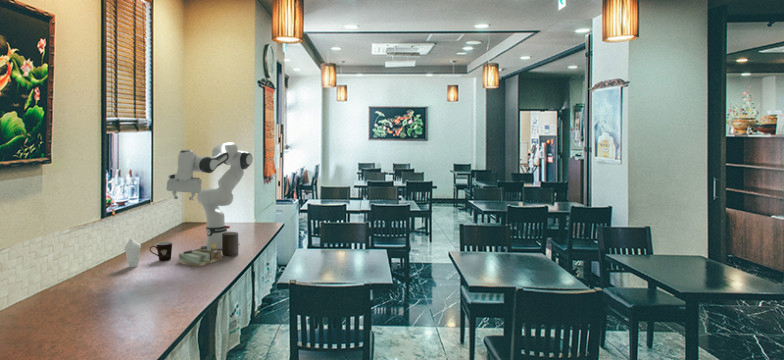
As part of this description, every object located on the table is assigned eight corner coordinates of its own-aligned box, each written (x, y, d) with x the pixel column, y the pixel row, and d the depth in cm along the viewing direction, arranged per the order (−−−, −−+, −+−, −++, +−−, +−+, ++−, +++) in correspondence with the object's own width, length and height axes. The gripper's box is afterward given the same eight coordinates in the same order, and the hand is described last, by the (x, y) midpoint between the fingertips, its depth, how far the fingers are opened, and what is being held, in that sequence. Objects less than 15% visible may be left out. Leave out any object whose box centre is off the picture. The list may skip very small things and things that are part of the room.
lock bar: (199, 250, 277) (199, 241, 277) (204, 248, 281) (204, 240, 280) (212, 252, 271) (212, 244, 271) (218, 251, 274) (217, 243, 274)
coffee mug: (175, 258, 281) (175, 241, 280) (167, 261, 272) (167, 245, 271) (157, 257, 282) (157, 241, 281) (149, 261, 274) (148, 244, 273)
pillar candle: (223, 257, 284) (223, 233, 282) (221, 253, 292) (220, 230, 291) (239, 255, 288) (239, 232, 287) (237, 252, 297) (237, 229, 295)
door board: (204, 256, 286) (204, 245, 285) (221, 260, 277) (221, 249, 277) (179, 262, 271) (178, 251, 271) (196, 266, 263) (196, 255, 262)
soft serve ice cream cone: (145, 265, 265) (144, 237, 263) (132, 269, 257) (131, 240, 256) (134, 263, 268) (132, 236, 266) (121, 267, 260) (120, 239, 258)
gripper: (204, 177, 281) (202, 200, 281) (171, 175, 282) (170, 198, 282) (199, 177, 274) (197, 201, 274) (165, 175, 276) (164, 198, 276)
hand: (183, 199), depth 278 cm, fingers open, 8 cm apart
